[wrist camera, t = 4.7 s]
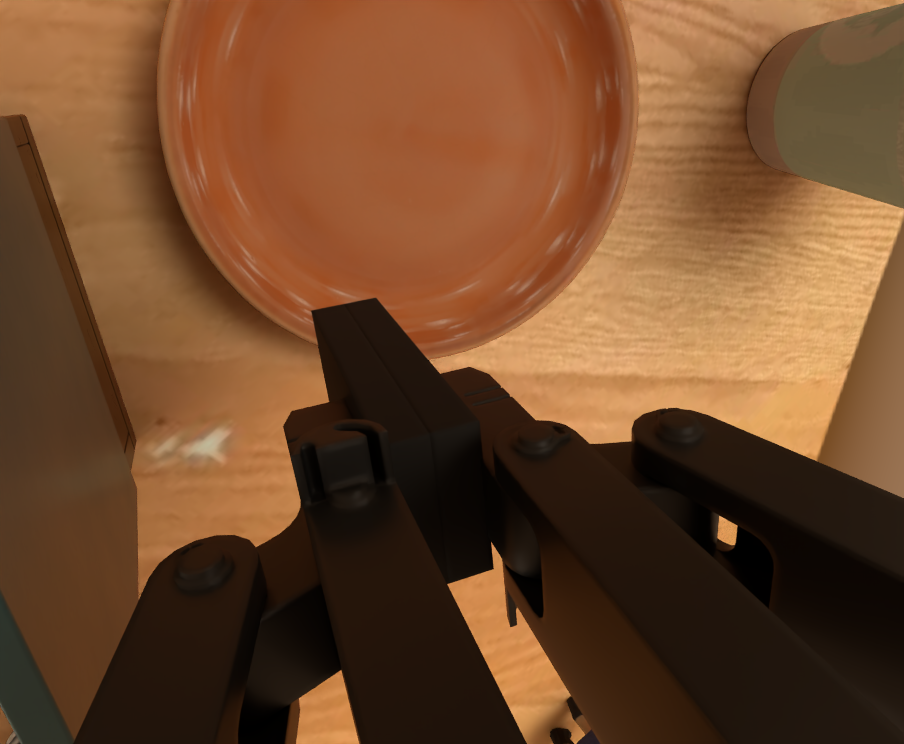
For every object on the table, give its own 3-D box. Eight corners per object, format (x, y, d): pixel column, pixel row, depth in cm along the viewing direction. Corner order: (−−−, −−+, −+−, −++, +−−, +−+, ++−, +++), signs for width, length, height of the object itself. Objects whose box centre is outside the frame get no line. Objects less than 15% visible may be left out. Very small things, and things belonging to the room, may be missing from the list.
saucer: (206, 364, 25) (207, 396, 22) (109, -164, 19) (95, -205, 16) (585, 312, 30) (622, 333, 27) (611, -125, 23) (663, -152, 21)
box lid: (104, 902, 11) (143, 883, 11) (-303, 161, 6) (-217, 152, 6) (118, 495, 22) (137, 489, 22) (-21, 119, 17) (6, 116, 17)
